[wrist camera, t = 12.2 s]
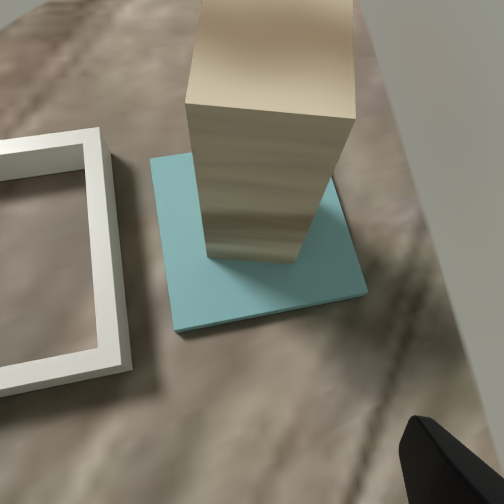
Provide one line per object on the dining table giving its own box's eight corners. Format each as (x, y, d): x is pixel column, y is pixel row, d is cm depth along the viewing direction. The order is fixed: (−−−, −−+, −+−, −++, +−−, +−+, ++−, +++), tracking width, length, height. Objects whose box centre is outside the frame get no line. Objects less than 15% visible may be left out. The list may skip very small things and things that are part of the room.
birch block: (293, 264, 24) (355, 118, 12) (206, 257, 24) (184, 103, 12) (296, 189, 25) (352, 0, 14) (216, 182, 25) (204, -15, 14)
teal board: (364, 295, 24) (368, 291, 23) (175, 333, 23) (174, 330, 22) (315, 141, 28) (317, 134, 27) (151, 165, 27) (149, 158, 26)
